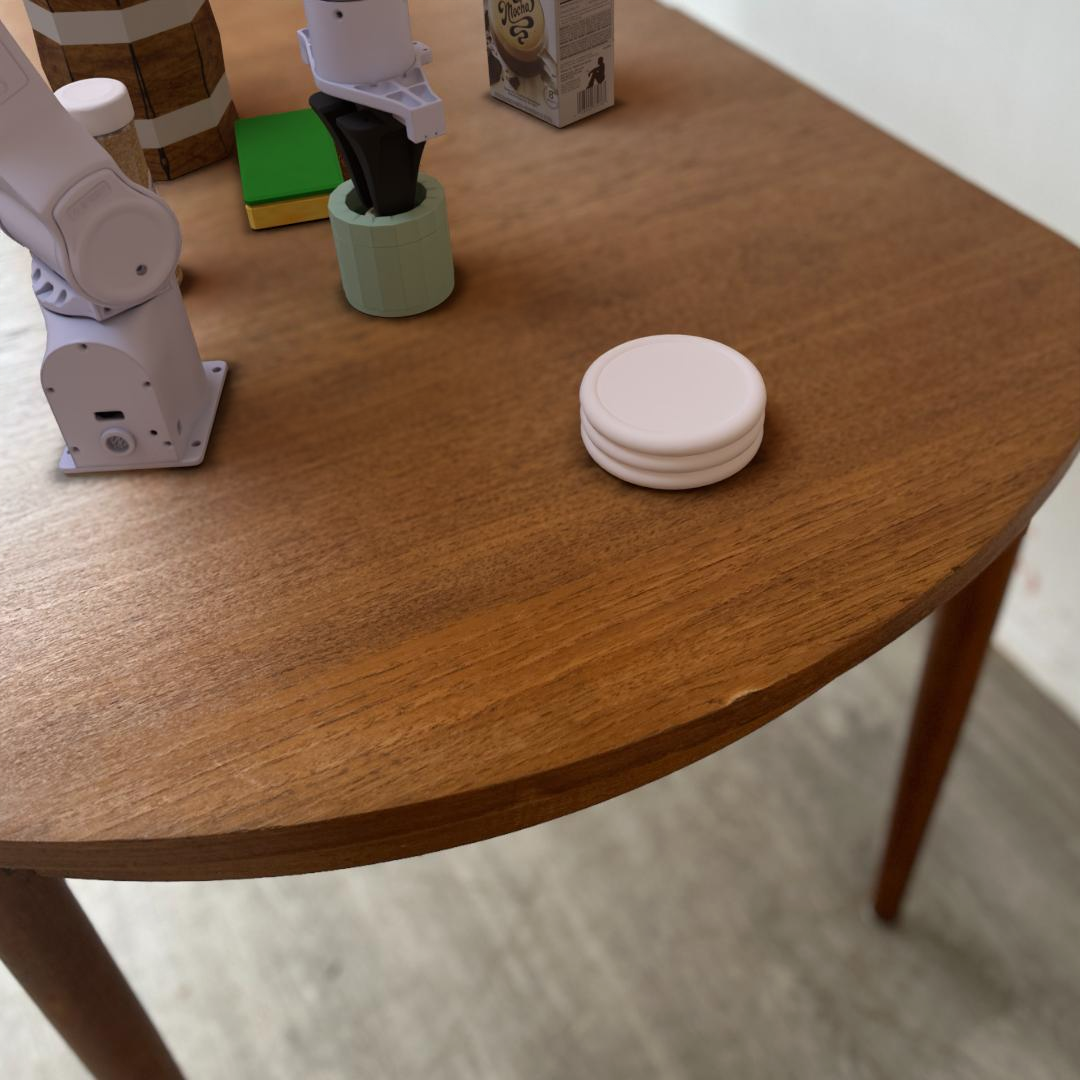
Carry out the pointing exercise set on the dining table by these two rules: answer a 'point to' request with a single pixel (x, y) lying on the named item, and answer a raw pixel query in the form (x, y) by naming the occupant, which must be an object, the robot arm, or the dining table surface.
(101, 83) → the sprinkles bottle
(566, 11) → the coffee box
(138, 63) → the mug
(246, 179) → the dish sponge
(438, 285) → the jar
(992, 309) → the dining table surface
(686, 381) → the white stacked discs
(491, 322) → the dining table surface
